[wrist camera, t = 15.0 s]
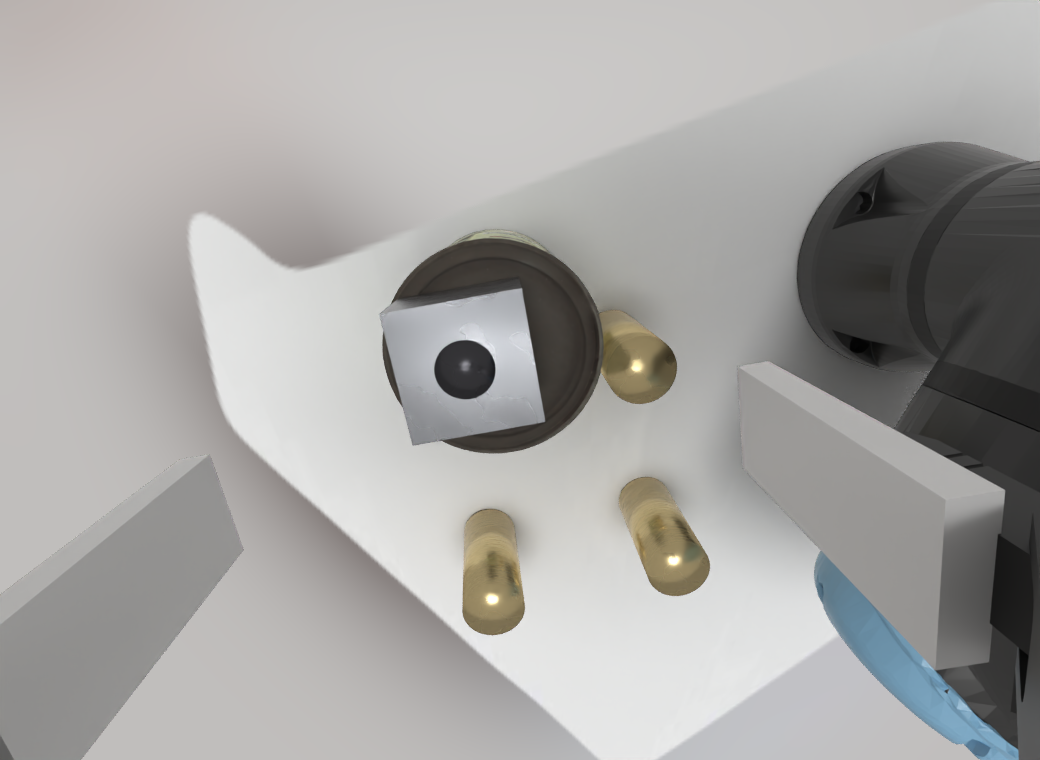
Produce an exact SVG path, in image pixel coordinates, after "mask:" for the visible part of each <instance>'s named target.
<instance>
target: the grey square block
mask: <svg viewBox="0 0 1040 760" xmlns="http://www.w3.org/2000/svg"><path fill="white" fill-rule="evenodd" d="M379 316H380V320H381V324H382V327H383V331H384V335H385V339H386V343H387V347H388V351H389V355H390V359H391V363H392V366H393V370H394V374H395V378H396V382H397V386H398V390H399V394H400V398H401V402H402V406H403V409H404V413H405V417H406V421H407V425H408V429H409V433H410V437H411V441H412V445H419V444H424V443H430V442H436V441H441V440H447V439H452V438H458V437H464V436H469V435H475V434H480V433H486V432H492V431H497V430H503V429H509V428H514V427H520V426H525V425H531V424H537V423H542V422H545V417H544V411H543V406H542V400H541V394H540V389H539V383H538V377H537V372H536V366H535V361H534V355H533V349H532V344H531V338H530V332H529V327H528V321H527V315H526V310H525V304H524V299H523V293H522V287H521V283H520V279H519V276H518V277H512V278H507V279H501V280H496V281H490V282H485V283H480V284H474V285H469V286H463V287H458V288H452V289H447V290H442V291H436V292H431V293H425V294H420V295H415V296H409V297H404V298H398V299H397V300H396V301H395V302H393V303H392V304H391V305H390V306H389V307H387V308H386V309H385V310H384V311H382V312H381V313H380V314H379Z"/></svg>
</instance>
